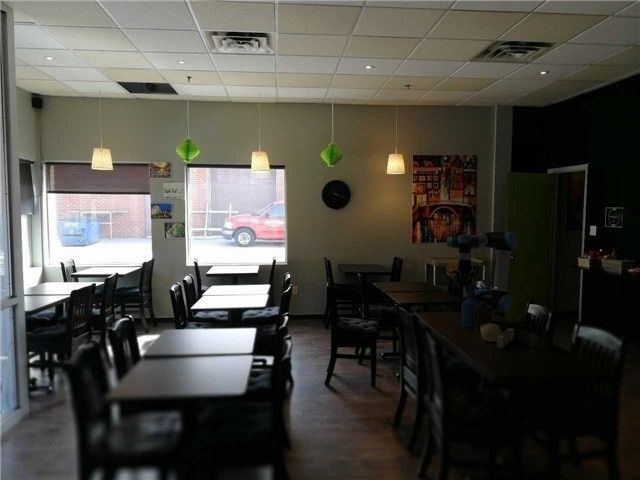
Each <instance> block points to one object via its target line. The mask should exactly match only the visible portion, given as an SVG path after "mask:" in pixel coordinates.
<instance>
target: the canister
mask: <svg viewBox="0 0 640 480" xmlns="http://www.w3.org/2000/svg"><path fill="white" fill-rule="evenodd" d="M487 303H488V302H483V301H481V302H480V304H478V305H474V322H475V328H474V333H475V334H477V335H481V328H480V327H481V326H482V325H485V324H487V323H491V318H492V309H491V307H492V306H490V305H487Z"/></svg>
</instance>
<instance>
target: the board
mask: <svg viewBox="0 0 640 480" xmlns="http://www.w3.org/2000/svg"><path fill="white" fill-rule="evenodd" d="M501 332H502V333H501V334H500V335H499V336H498V337H497V342H496V348H497V349H503V348H504V347H506V346H507V345H508V344H509V343H511V342H512V341H514V339H515V329H514V328H507V329H505V330H504V331H501Z"/></svg>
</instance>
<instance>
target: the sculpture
mask: <svg viewBox="0 0 640 480" xmlns="http://www.w3.org/2000/svg"><path fill="white" fill-rule="evenodd" d="M480 328H481V334H480V336H481V337H482V340H484V341H486V342H491V343H497V337H498V336H499V335H500V334H501V333H502V332H503V331H502V330H501V328H500V325H499V324H496V323H487V324H485V325H482V326H481V327H480Z"/></svg>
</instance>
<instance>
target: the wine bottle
mask: <svg viewBox="0 0 640 480" xmlns="http://www.w3.org/2000/svg"><path fill="white" fill-rule="evenodd" d="M475 290H476V287H475V283H474V282H473V281H472V285H470V286H469V291H468V296H467V298H466V299H465V300H464V301H463V302H462V303H461V325H462V327H466V328H469V329H470V328H471V329H473V328H474V329H475V322H474V305H478V304H480V302H479V301H477V300H476V299H475Z"/></svg>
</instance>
